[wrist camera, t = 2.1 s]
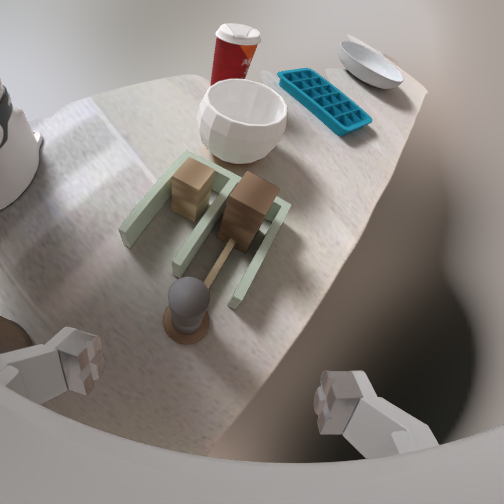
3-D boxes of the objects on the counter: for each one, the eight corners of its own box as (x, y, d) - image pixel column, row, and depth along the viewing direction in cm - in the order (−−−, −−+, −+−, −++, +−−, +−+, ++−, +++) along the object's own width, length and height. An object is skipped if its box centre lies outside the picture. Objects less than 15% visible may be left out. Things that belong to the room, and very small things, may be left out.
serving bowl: (398, 108, 66) (410, 91, 60) (331, 75, 64) (341, 56, 57) (387, 77, 76) (396, 62, 70) (330, 50, 73) (338, 33, 67)
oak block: (171, 210, 36) (171, 176, 30) (186, 191, 38) (189, 156, 32) (194, 223, 36) (199, 190, 30) (208, 203, 38) (215, 169, 32)
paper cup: (245, 105, 49) (265, 42, 36) (203, 101, 47) (216, 34, 35) (243, 84, 52) (260, 26, 40) (205, 79, 50) (217, 19, 38)
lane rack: (123, 244, 33) (118, 228, 29) (184, 169, 40) (186, 149, 36) (234, 309, 33) (242, 300, 29) (281, 220, 40) (291, 204, 36)
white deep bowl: (183, 129, 43) (189, 80, 34) (251, 118, 47) (266, 74, 39) (210, 186, 39) (221, 136, 31) (285, 169, 44) (308, 125, 35)
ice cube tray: (339, 142, 51) (346, 131, 48) (270, 83, 55) (274, 72, 52) (368, 129, 56) (374, 120, 54) (305, 76, 60) (309, 67, 57)
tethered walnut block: (155, 329, 30) (144, 306, 21) (228, 212, 38) (245, 159, 29) (195, 352, 30) (202, 340, 21) (262, 231, 38) (289, 182, 29)
